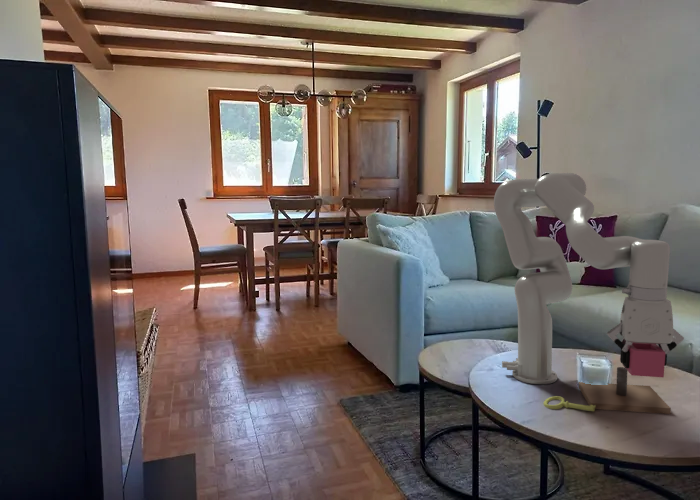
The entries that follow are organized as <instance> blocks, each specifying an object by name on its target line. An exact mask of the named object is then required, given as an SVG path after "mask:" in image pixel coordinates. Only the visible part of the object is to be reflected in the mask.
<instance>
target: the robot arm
mask: <svg viewBox="0 0 700 500" xmlns="http://www.w3.org/2000/svg"><path fill="white" fill-rule="evenodd" d="M586 192H587V185H586V182H585V180H584V179H583V178H582V177H581V176H580V175H578V174H577V173H573V172H572V173H571V172H561V173H559V172H555V173H553V172H552V173H547V174H544V175H543V176H540V177H539V178H520V179H519V178H518V179H510V180H507V181H505V182H502V183H501V184H500V185H499V186H498V187H497V188H496V191H495V193H494V197H493V208H494V209H493V210H494V212H495V214H496V218H497V220H498V222H499V224H500V226H501V228H502V232H503V235H504V240H505V244H506V247H507V250H508V253H509V258H510V260H511V263H512V264H513V266H514V267H515V268H516V269H517V270H520V271H521V270H522V271H528V270H530V271H531V270H535V269H536V270H537V269H539V271H540V272H532V273H527V274H525V275H522V276H521V277H520V278H518V279H517V281H516V282H515V285H514V296H515V301H516V306H517V358H515V360H512V361H504V360H503V361H501V368H505V369H506V371H512V376H513V377H514V378H515V379H516V380H518V381H520V382H523V383H528V384H532V385H533V384H534V385H548V384H553V383H555V382H556V381H557V380H558V373H556V372H555V371H554V370H552V369H553V367H552V366H553V364H552V363H553V362H552V360H553V319H552V315H551V312H550V310H549V308H548V306H547V305H549V304H554V303H560V302H563V301H565V300H568V299H569V298H570V296H571V294H572V291H573V283H572V278H571V277H572V276H571V274H570V271H569V268H568V265H567V262H566V259H565V255H564V252H563V249H562V246H561V245H560V244H559V243H558V242H557V241H556V240H555V239H554V238H552V237H549V236H538V237H537V236H536V234H535V231H534V228H533V225H532V222H531V219H530V218H529V217H528V216H527V215H526V213H525V212H524V211H522V208H535V207H538V208H539V207H546V208H548V210H550V211H551V212H552V213H553V214H554V215H555V216H556V217H557V218H558V219H559V221H561V222H562V223H563V224H564V225H565V233H566V237H567V239H568V240H567V241H568V244H569V245H570V246H571V248H572V249H573V250H574V252H575V253H577V255H578V256H580V257H581V258H582V260H584V262H586V263H587V264H588V265H590V266H591V267H593V268H595V269H598V270H609V269H610V270H611V269H615V268H616V269H617V268H626V267H629V276H628V277H629V278H628V279H629V280H628V284H627V287H622V288H621V294H625V295H627V296H625V298H624V300H623V305H622V308H621V314H620V320H619V323H617V325H615V326H614V327H612V328H611V329H610V330H608V331H607V332H606V336H608V337H609V338H610V339H611V340H612V342H614V344H615V345H616V346H617V347H619V349H620V357H619V361H620V364H622V366H623V365H624V366H625V367H624V366H623V367H624V368H629V363H630V352H629V348H630V346H631V345H632V343H649V344H656V345H658V346H659V347H660V348H661V349H662V350H663V351H665V366H664V367H667V361H668V355H669V354H670V352H671V351H672V350H673V349H675V348H676V347H677V346H678V345H679V344H681V342H683V341H684V340H685V337H684V336H683V335H681V333H680V332H678V331H677V330H676V329H675V328H674V316H673V315H674V314H673V307H672V302H671V300H670V299H668V298H667V296H668V295H667V294H668V282H669V268H670V255H671V253H670V251H671V247H670V244H669V243H668V242H667V241H663V240H658V239H644V238H640V237H635V236H631V235H621V236H610V237H609V236H608V237H607V236H606V237H603V236H602V235H600V234H599V233H598V232H597V231H596V230H595V229H594V228H593V227H592V226H591V225H590V224H589V222H588V221H589V220H590V219H591V217H592V216H593V214H594V212H595V205H594V204H593V202H592V201H590V200H589V198H587V197H586V196H585V195H586ZM618 334H619V335H620V336H621V337H622V339H621V340H620V339H619V338H618V337H617V335H618Z"/></svg>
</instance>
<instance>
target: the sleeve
mask: <svg viewBox="0 0 700 500" xmlns="http://www.w3.org/2000/svg"><path fill="white" fill-rule="evenodd" d="M629 352H630V363H629V368H626V369H627V373H629V374H630V375H631V376H634V377H636V376H637V377H638V376H639V377H651V378H664V377H665V367H666V366H665V351H663V350H662V349H661V348H660V347H659V346H658V344H649V343H632V345H631V346H630V348H629ZM622 366H623V367H624V368H625V366H624V365H623V364H622Z"/></svg>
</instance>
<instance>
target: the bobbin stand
mask: <svg viewBox="0 0 700 500" xmlns="http://www.w3.org/2000/svg"><path fill="white" fill-rule="evenodd" d="M607 384H608V385H591V384H585V383H583V381H578V389H579V390H580V392H581V394H582V396H583V397H584V399H585V402H586V403H587V404H588V406H590V405H593V406H594V405H596V407H595V410H603V411H604V410H605V411H617V412H618V411H619V412H622V411H623V412H636V413H650V414H651V413H652V414H664V415H671V410H672V409H671V407H670V406H669V405H668V404H667V402H666V401H665V400H664V399H662V397H661V396H660V395H659V394H658V392H656V391H655V390H654V388H653V387H651V385H643V384H642V385H639V384H628V371H627V369H626V368H625V367H624V366H623V367H622V366H618V367H617V368H616V383H607Z"/></svg>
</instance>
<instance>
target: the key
mask: <svg viewBox="0 0 700 500" xmlns="http://www.w3.org/2000/svg"><path fill="white" fill-rule="evenodd" d="M554 400H556V401H557V400H558V401H560V402H559V403H557V404H548V403H549V402H551V401H554ZM542 404H543V406H544V407H545V408H547V409H550V410H560V409H562V408H563V407H565V408H566V409H568V408H570V409H576V410H581V411H589V412H595V410H596V409H595V407H596V405H594V406H593V405H590V406H589V405H585V404H580V403H572V402H569V400H566V401H565V398H564V397H563V396H558V395H554V396H550V397H547V398H546V399H545V400H544V401H543V403H542Z"/></svg>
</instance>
